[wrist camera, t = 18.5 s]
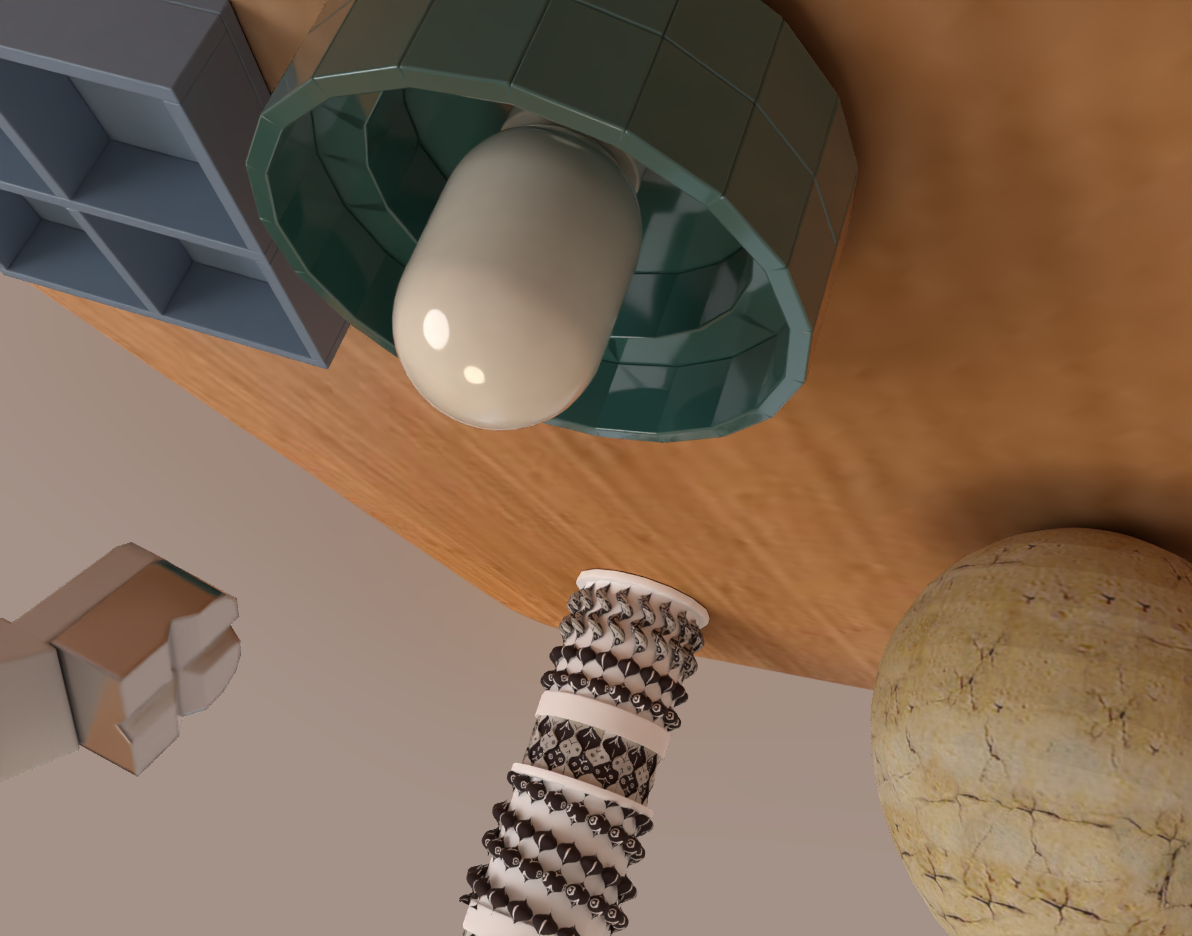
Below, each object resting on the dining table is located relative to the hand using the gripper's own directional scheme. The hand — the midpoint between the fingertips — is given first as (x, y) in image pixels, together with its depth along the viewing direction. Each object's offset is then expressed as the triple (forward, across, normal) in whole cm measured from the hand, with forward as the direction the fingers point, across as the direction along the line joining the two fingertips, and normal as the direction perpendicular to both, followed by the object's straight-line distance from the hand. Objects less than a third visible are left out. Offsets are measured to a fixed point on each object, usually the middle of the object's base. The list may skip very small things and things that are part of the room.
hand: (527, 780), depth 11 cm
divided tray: (+16, +23, +4) cm, 28 cm away
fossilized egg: (+26, -11, +11) cm, 30 cm away
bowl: (+16, +7, -1) cm, 18 cm away
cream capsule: (+15, +7, -1) cm, 17 cm away
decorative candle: (+36, +6, +33) cm, 49 cm away
